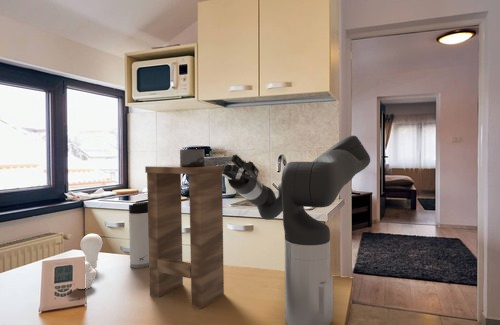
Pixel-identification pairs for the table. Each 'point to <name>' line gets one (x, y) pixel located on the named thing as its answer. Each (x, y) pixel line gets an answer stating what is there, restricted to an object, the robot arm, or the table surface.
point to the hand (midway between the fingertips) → (219, 157)
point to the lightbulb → (91, 248)
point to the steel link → (201, 159)
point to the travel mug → (139, 235)
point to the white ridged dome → (89, 274)
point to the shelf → (201, 231)
